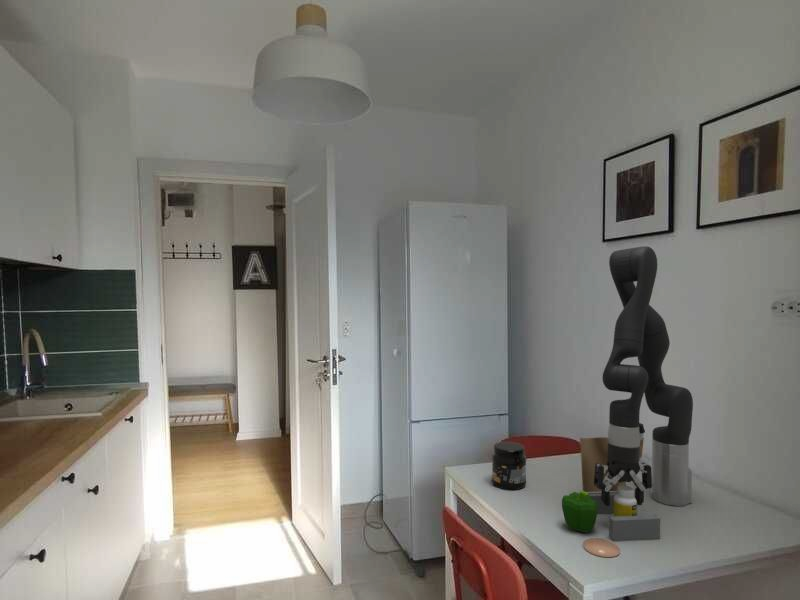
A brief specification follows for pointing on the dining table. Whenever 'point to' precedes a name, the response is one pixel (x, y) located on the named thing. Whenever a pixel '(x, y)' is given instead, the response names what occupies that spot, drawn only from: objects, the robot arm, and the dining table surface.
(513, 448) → the supplement container
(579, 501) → the bell pepper
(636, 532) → the rails
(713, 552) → the dining table surface
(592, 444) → the tan flat square panel
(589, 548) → the coaster
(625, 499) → the supplement bottle
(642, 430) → the coffee cup
